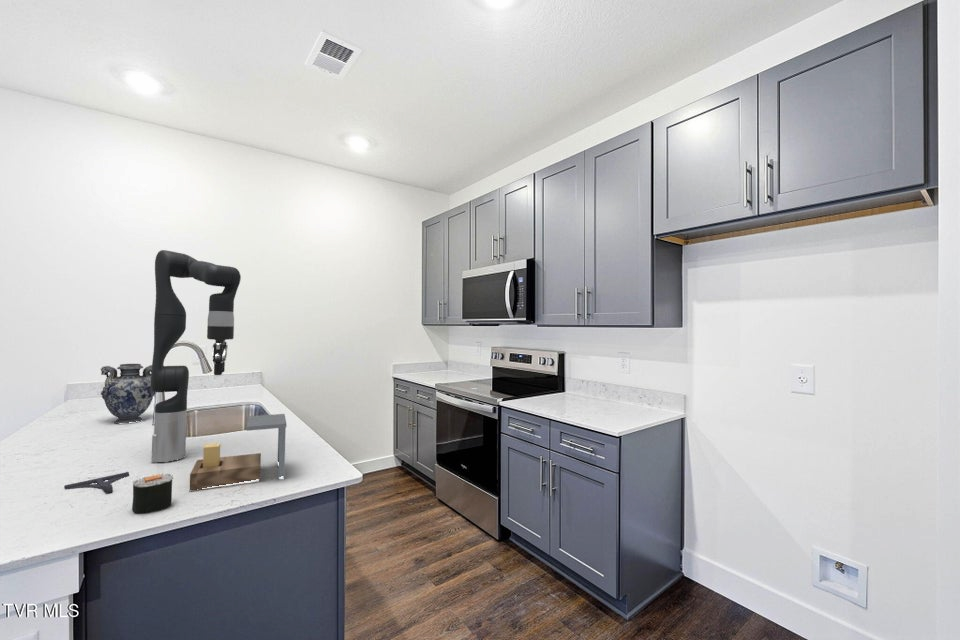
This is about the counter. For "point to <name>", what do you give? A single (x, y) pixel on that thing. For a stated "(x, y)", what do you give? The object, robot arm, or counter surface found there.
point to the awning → (271, 423)
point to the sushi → (152, 493)
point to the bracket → (98, 483)
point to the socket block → (226, 471)
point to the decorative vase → (127, 392)
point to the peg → (211, 455)
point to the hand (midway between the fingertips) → (219, 373)
